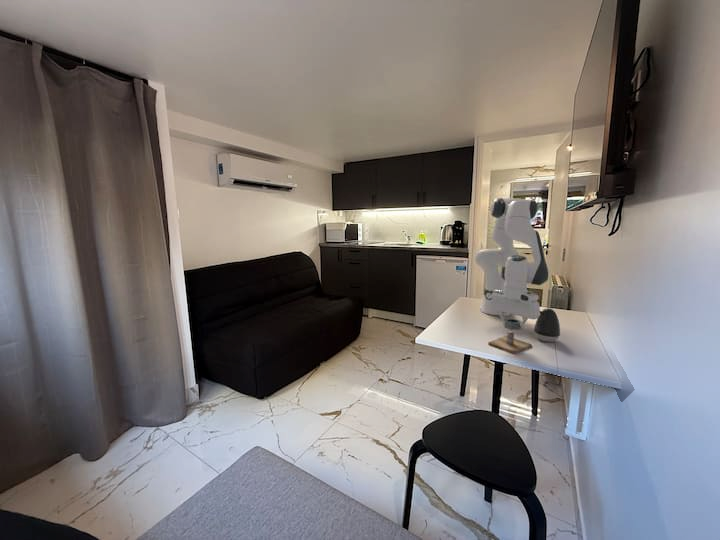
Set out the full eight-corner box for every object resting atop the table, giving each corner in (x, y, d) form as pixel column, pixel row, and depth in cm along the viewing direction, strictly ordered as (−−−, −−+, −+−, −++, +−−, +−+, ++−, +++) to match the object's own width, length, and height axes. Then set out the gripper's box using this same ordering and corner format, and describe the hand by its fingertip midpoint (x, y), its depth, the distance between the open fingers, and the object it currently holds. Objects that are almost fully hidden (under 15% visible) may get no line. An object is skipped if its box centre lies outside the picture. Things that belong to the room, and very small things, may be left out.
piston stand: (505, 337, 140) (506, 325, 139) (531, 346, 131) (532, 333, 130) (488, 344, 133) (489, 331, 132) (514, 354, 123) (515, 340, 122)
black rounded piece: (528, 335, 143) (531, 305, 140) (550, 335, 143) (553, 305, 140) (540, 344, 133) (543, 311, 130) (564, 344, 132) (567, 311, 130)
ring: (508, 323, 134) (509, 317, 134) (523, 327, 129) (524, 321, 128) (500, 326, 131) (501, 320, 130) (515, 331, 125) (516, 324, 125)
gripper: (488, 289, 134) (486, 319, 136) (535, 298, 118) (532, 331, 120) (496, 288, 138) (494, 316, 140) (542, 296, 121) (540, 328, 123)
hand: (512, 323), depth 130 cm, fingers closed on ring, 7 cm apart
